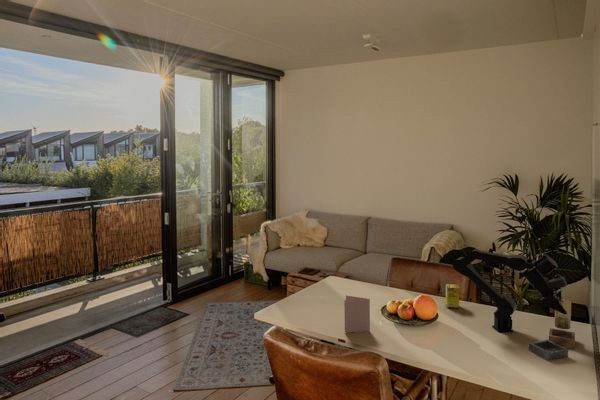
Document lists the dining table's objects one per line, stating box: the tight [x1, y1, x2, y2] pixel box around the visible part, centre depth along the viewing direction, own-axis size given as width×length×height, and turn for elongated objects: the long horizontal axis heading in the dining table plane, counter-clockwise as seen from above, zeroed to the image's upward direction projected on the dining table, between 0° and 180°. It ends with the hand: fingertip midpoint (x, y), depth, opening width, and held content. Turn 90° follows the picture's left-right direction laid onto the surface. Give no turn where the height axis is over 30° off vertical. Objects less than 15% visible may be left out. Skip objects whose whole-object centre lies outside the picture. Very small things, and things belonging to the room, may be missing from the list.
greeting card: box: [343, 295, 371, 333], centre depth 194 cm, size 11×7×15 cm, turn 62°
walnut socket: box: [548, 327, 576, 349], centre depth 180 cm, size 9×9×4 cm
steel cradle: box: [527, 339, 569, 362], centre depth 170 cm, size 10×10×3 cm
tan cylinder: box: [554, 298, 572, 330], centre depth 179 cm, size 6×6×11 cm
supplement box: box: [444, 283, 460, 309], centre depth 222 cm, size 6×6×11 cm
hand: (567, 311), depth 178 cm, fingers closed on tan cylinder, 5 cm apart
